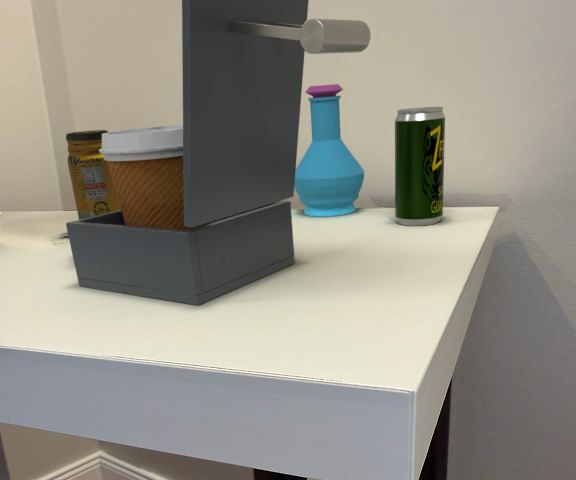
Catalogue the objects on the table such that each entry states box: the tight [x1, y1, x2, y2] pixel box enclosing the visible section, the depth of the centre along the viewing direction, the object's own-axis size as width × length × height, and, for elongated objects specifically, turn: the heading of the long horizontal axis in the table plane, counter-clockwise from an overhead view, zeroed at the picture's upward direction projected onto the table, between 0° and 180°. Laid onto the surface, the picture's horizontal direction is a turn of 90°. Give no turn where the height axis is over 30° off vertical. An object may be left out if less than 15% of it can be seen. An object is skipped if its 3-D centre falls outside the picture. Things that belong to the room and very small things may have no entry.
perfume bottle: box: [294, 83, 365, 217], centre depth 82 cm, size 9×9×15 cm
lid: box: [181, 0, 371, 228], centre depth 49 cm, size 16×14×9 cm
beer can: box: [394, 106, 446, 227], centre depth 73 cm, size 5×5×12 cm
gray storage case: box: [65, 200, 296, 306], centre depth 60 cm, size 15×14×6 cm
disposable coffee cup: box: [99, 124, 205, 230], centre depth 60 cm, size 10×10×12 cm
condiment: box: [59, 129, 121, 237], centre depth 83 cm, size 7×8×12 cm
